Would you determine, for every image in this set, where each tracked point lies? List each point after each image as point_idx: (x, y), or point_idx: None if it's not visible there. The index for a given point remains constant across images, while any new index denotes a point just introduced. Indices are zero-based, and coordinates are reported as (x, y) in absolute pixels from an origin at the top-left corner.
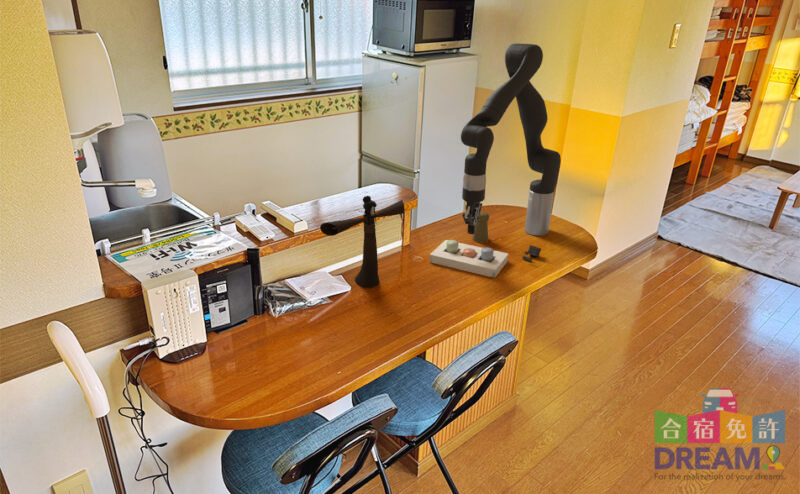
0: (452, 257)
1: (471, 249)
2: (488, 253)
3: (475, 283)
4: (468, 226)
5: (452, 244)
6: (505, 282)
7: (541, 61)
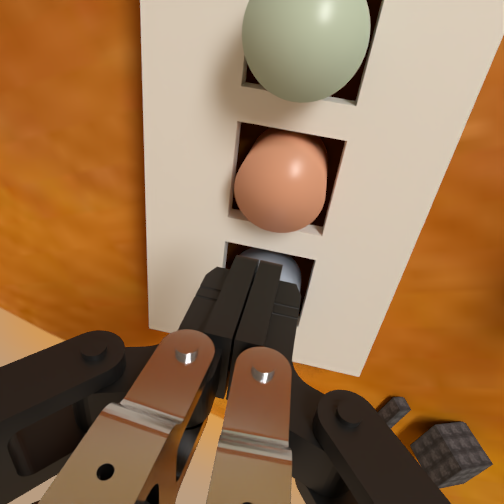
0: (178, 72)
1: (307, 202)
2: None
3: (73, 230)
4: (182, 321)
5: (257, 49)
6: (150, 335)
7: None
